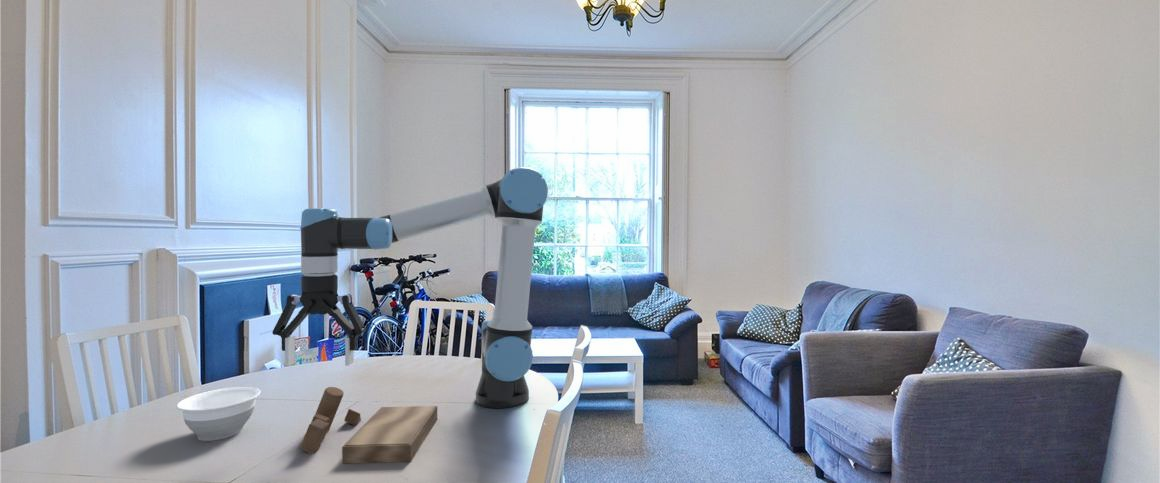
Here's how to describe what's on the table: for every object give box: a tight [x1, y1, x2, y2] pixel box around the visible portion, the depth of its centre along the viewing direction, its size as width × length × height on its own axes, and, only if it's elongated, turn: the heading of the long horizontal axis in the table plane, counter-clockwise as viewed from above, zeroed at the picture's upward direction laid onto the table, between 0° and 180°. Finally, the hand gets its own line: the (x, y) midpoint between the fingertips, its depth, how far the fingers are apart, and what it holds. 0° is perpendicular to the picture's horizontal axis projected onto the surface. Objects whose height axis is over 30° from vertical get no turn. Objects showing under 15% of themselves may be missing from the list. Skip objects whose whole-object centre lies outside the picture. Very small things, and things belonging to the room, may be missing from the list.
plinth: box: [341, 405, 438, 464], centre depth 108 cm, size 14×22×4 cm, turn 3°
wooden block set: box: [299, 386, 362, 454], centre depth 110 cm, size 18×9×10 cm, turn 178°
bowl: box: [176, 386, 262, 442], centre depth 112 cm, size 16×16×8 cm
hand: (319, 364), depth 110 cm, fingers open, 13 cm apart
